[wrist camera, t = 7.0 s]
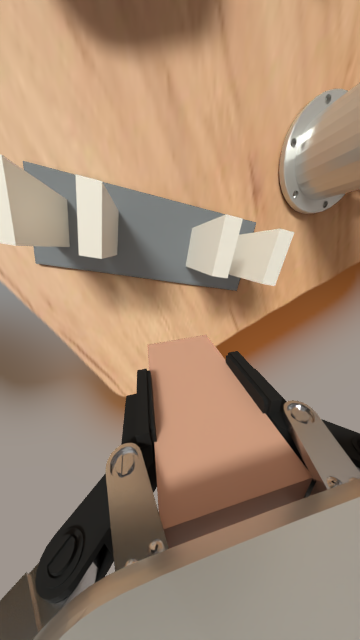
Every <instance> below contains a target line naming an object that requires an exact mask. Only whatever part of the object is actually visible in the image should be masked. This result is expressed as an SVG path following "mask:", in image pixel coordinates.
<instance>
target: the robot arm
mask: <svg viewBox="0 0 360 640" xmlns="http://www.w3.org/2000/svg"><path fill="white" fill-rule="evenodd" d="M279 177H280V185H281V189H282V193H283V195H284V197H285V200H286V201H287V202H288V204H289V205H290V206H291V207H292V208H293V209H294V210H296V211H298V212H300V213H304V214H312V213H317V212H322V211H324V210H326V209H328V208H330V207H332V206H333V205H334V204H336V203H337V202H338V201H339V200H340V199H341V198H342V197H343V196H344V195H345V193H348V192H352V191H355V190H359V189H360V83H358V84H357V85H356V86H354V87H353V88H352V89H351V90H349V91H347V90H344V89H331V90H328V91H325V92H323V93H322V94H320V95H318V96H317V97H315V98H314V99H313V100H312V101H311V102H310V103H308V104H307V105H306V106H305V107H304V108H303V110H302V111H301V112H300V113H299V114H298V115H297V117H296V118H295V120H294V121H293V123H292V125H291V127H290V129H289V131H288V133H287V135H286V138H285V141H284V144H283V147H282V151H281V157H280V165H279ZM226 364H227V365H228V367H229V368H230V369H231V371H232V372H233V373H234V375H235V376H236V378H237V379H238V380H239V382H240V383H241V384H242V386H243V387H244V388H245V390H246V391H247V393H248V394H249V395H250V397H251V398H252V399H253V401H254V402H255V403H256V405H257V406H258V408H259V409H260V410H261V412H262V413H263V414H264V413H265V414H266V415H267V416H268V418H269V419H270V420H271V422H272V423H273V424H274V426H275V427H276V428H277V430H278V431H279V432H280V434H281V435H282V436H283V438H284V439H285V440H286V442H287V443H288V444H289V446H290V447H291V448H292V450H293V451H294V452H295V454H296V455H297V456H298V458H299V459H300V460H301V462H302V463H303V464H304V466H305V467H306V468H307V470H308V471H309V472H310V474H311V476H312V478H313V479H312V481H311V483H310V485H309V487H308V489H307V492H306V494H305V496H304V498H303V499H300V500H298V501H295V502H292V503H290V504H287V505H284V506H281V507H279V508H276V509H273V510H271V511H268V512H265V513H263V514H260V515H257V516H254V517H252V518H249V519H246V520H244V521H241V522H238V523H236V524H233V525H230V526H228V527H225V528H222V529H220V530H217V531H215V532H212V533H209V534H207V535H204V536H201V537H199V538H196V539H193V540H191V541H188V542H185V543H183V544H180V545H177V546H175V547H172V548H170V549H169V547H168V544H167V540H166V537H165V533H164V530H163V526H162V523H161V519H160V516H159V512H158V508H157V505H156V501H155V498H154V495H153V492H154V491H155V489H156V487H157V477H156V462H155V447H154V442H157V438H156V425H155V413H154V401H153V389H152V377H151V372H150V371H147V369H142V370H138V371H137V394H133V395H128V396H127V397H126V404H125V414H124V424H123V435H122V445H120V446H119V447H118V448H116V449H115V451H113V452H112V454H111V455H110V457H109V459H108V461H107V464H106V474H105V475H104V476H103V477H102V479H101V480H100V481H99V482H98V483H97V485H96V486H95V487H94V488H93V489H92V491H91V492H90V493H89V494H88V495H87V497H86V498H85V499H84V501H83V502H82V503H81V504H80V505H79V506H78V508H77V509H76V510H75V511H74V513H73V514H72V515H71V516H70V517H69V519H68V520H67V521H66V522H65V523H64V525H63V526H62V527H61V528H60V530H59V531H58V532H57V533H56V534H55V535H54V537H53V538H52V540H51V541H50V542H49V544H48V545H47V547H46V549H45V551H44V553H43V555H42V557H41V559H40V562H39V563H38V564H37V565H36V566H35V568H33V570H32V571H31V572H30V573H29V574H28V573H27V572H26V573H25V574H24V575H23V576H22V577H21V578H20V579H19V581H18V582H17V583H16V584H15V585H14V586H13V587H12V588H11V589H10V590H9V591H8V593H7V594H6V595H5V596H4V597H3V598H2V599H1V600H0V640H360V434H359V433H357V432H354V431H351V430H349V429H346V428H343V427H341V426H338V425H335V424H333V423H330V422H327V421H325V420H322V419H320V417H319V416H318V414H317V413H316V412H315V411H314V410H313V409H312V408H311V407H309V406H308V405H306V404H304V403H302V402H299V401H293V400H292V401H288V402H286V401H285V399H284V398H283V397H282V396H281V395H280V394H279V393H278V392H277V391H276V390H275V389H274V388H273V387H272V386H271V385H270V384H269V383H268V382H267V380H265V378H264V377H263V376H262V375H261V374H260V373H259V372H258V371H257V370H256V369H254V368H253V367H252V366H251V365H250V364H249V363H248V362H247V361H246V360H245V359H244V357H243V356H242V355H241V354H240V353H239V352H238V351H235V352H230V353H228V355H227V356H226ZM113 562H114V566H115V572H114V573H112V574H109V575H108V576H106V577H105V575H106V574H107V572H108V570H109V569H110V567H111V565H112V563H113Z"/></svg>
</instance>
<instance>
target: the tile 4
mask: <svg viewBox="0 0 360 640" xmlns="http://www.w3.org/2000/svg"><path fill="white" fill-rule="evenodd" d="M242 221H243V219H242V218H238V217H234V216H231V215H227V214H226V215H223V216H221V217H218V218H216V219H213V220H211V221H208V222H206V223H203V224H201V225H198V226H196V227H193V228H192V232H191V238H190V244H189V249H188V255H187V261H186V267H189V268H192V269H194V270H197V271H200V272H202V273H205V274H208V275H211V276H215V277H221V278H228V274H229V271H230V267H231V263H232V259H233V255H234V251H235V248H236V244H237V240H238V236H239V232H240V228H241V225H242Z"/></svg>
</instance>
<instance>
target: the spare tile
mask: <svg viewBox="0 0 360 640" xmlns="http://www.w3.org/2000/svg"><path fill="white" fill-rule="evenodd" d="M148 358H149V371H150V372H151V377H152V389H153V401H154V413H155V425H156V438H157V442H154V447H155V462H156V477H157V491H158V506H159V516H160V519H161V523H162V526H163V530H164V533H165V537H166V540H167V544H168V547H169V549H170V548H172V547H175V546H177V545H180V544H183V543H185V542H188V541H191V540H193V539H196V538H199V537H201V536H204V535H207V534H209V533H212V532H215V531H217V530H220V529H222V528H225V527H228V526H230V525H233V524H236V523H238V522H241V521H244V520H246V519H249V518H252V517H254V516H257V515H260V514H263V513H265V512H268V511H271V510H273V509H276V508H279V507H281V506H284V505H287V504H290V503H292V502H295V501H298V500H300V499H303V498H304V496H305V494H306V492H307V489H308V487H309V485H310V483H311V481H312V479H313V478H312V476H311V474H310V472H309V471H308V470H307V468H306V467H305V466H304V464H303V463H302V462H301V460H300V459H299V458H298V456H297V455H296V454H295V452H294V451H293V450H292V448H291V447H290V446H289V444H288V443H287V442H286V440H285V439H284V438H283V436H282V435H281V434H280V432H279V431H278V430H277V428H276V427H275V426H274V424H273V423H272V422H271V420H270V419H269V418H268V416H267V415H266V414H265V413H264V414H263V413H262V412H261V410H260V409H259V408H258V406H257V405H256V403H255V402H254V401H253V399H252V398H251V397H250V395H249V394H248V393H247V391H246V390H245V388H244V387H243V386H242V384H241V383H240V382H239V380H238V379H237V378H236V376H235V375H234V373H233V372H232V371H231V369H230V368H229V367H228V365H227V364H226V360H225V359H224V358H223V356H222V355H221V354H220V352H219V351H218V350H217V348H216V347H215V346H214V344H213V343H212V342H211V340H210V339H209V338H208V336H207V335H202V336H196V337H190V338H184V339H178V340H172V341H166V342H160V343H154V344H148Z"/></svg>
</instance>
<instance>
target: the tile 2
mask: <svg viewBox="0 0 360 640" xmlns="http://www.w3.org/2000/svg"><path fill="white" fill-rule="evenodd" d="M75 175H76V174H75ZM76 200H77V224H78V249H79V255H80V256H86V257H93V258H99V259H103V258H107V257H111V256H115V255H117V247H118V218H119V211H118V209H117V207H116V205H115V204H114V202H113V200H112V198H111V197H110V195H109V193H108V191H107V189H106V188H105V186H104V184H103V182H102V181H99V180H95V179H91V178H88V177H84V176H80V175H76Z"/></svg>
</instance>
